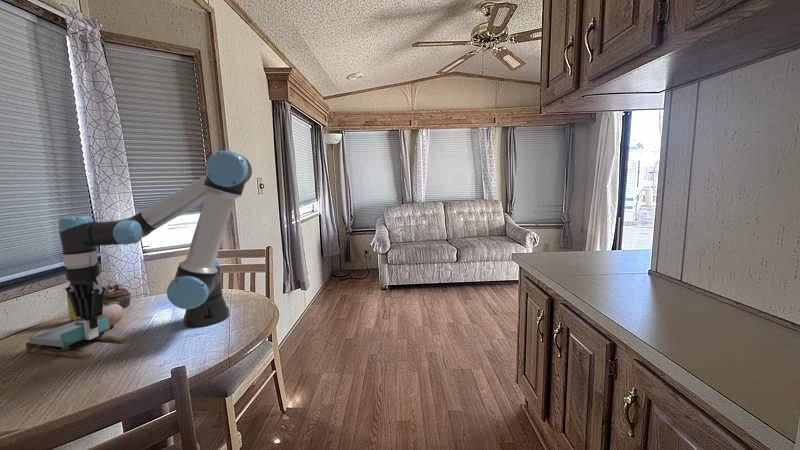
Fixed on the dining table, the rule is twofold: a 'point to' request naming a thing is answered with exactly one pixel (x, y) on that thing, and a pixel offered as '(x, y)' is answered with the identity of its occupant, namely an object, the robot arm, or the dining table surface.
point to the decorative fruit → (112, 312)
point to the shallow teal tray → (67, 334)
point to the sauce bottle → (72, 310)
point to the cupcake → (117, 295)
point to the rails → (86, 355)
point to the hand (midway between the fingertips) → (92, 337)
